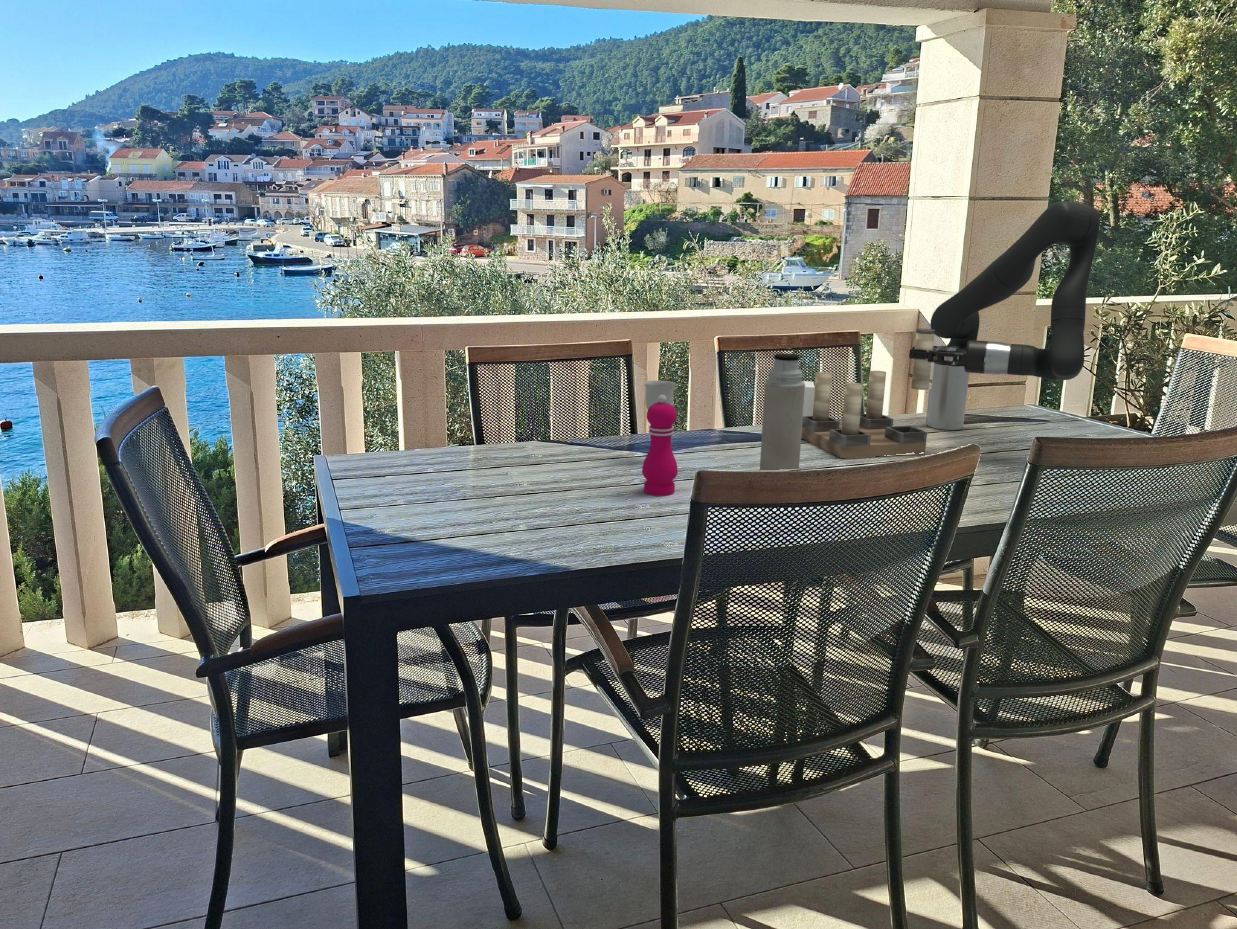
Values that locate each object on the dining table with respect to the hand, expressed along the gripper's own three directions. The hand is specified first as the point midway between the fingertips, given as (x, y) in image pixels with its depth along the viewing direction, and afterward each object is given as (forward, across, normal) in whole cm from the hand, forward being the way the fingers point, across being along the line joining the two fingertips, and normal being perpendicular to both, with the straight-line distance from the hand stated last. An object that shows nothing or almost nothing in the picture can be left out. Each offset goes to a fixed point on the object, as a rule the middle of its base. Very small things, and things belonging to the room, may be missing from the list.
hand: (911, 352), depth 225 cm
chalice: (+49, +38, +24) cm, 66 cm away
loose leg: (-3, 0, +8) cm, 9 cm away
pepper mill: (+40, +60, +24) cm, 76 cm away
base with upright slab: (+27, -12, +24) cm, 38 cm away
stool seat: (+10, +1, +24) cm, 26 cm away
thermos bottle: (+19, +47, +24) cm, 56 cm away
